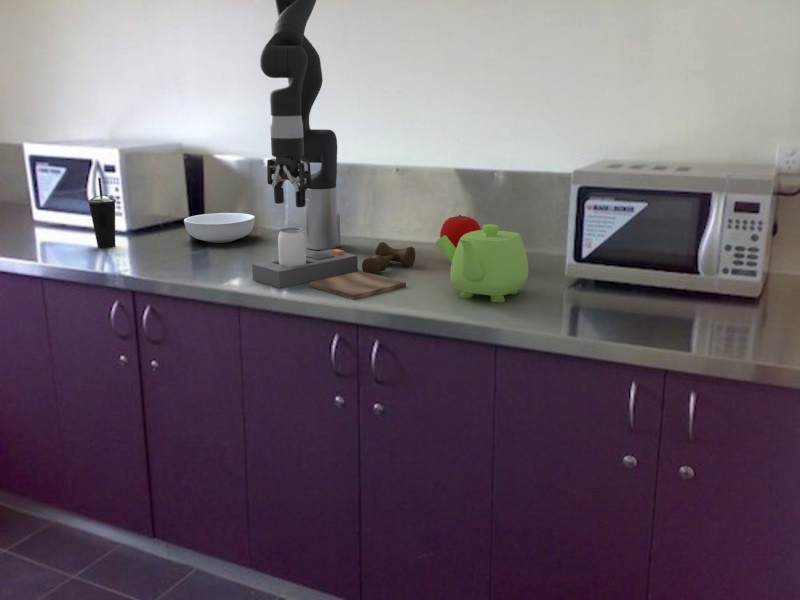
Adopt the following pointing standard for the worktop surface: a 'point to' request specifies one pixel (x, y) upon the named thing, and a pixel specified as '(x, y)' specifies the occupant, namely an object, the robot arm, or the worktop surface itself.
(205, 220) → the serving bowl
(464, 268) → the teapot
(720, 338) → the worktop surface
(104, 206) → the drinking cup
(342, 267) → the grey block with hole
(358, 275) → the walnut board
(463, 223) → the tomato
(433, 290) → the worktop surface
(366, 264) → the kendama
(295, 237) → the can
